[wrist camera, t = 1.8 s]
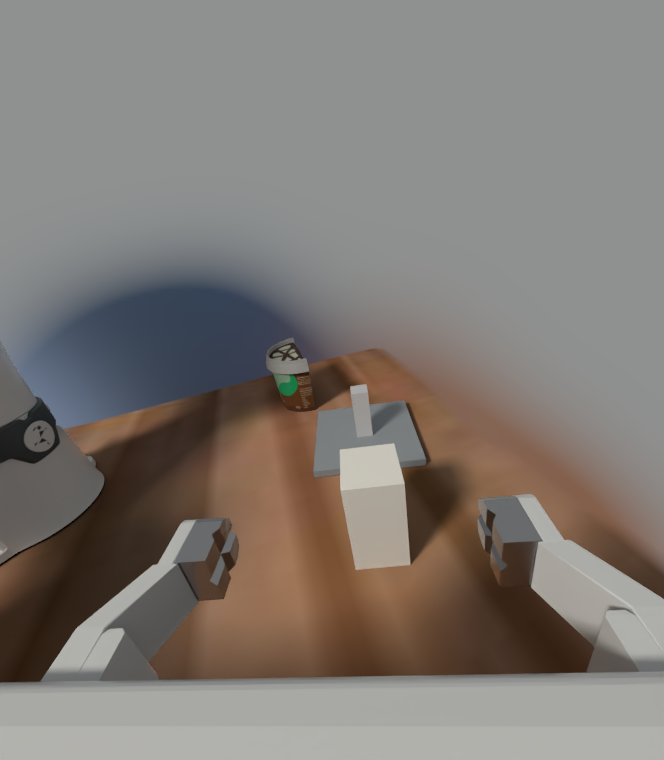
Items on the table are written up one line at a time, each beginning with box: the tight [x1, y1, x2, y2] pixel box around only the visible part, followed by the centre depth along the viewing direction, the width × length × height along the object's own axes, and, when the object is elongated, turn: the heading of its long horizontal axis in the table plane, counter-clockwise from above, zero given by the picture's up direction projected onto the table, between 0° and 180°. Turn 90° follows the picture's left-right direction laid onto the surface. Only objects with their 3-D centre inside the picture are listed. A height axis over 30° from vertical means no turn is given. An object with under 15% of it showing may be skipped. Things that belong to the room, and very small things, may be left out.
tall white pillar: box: [340, 443, 410, 570], centre depth 30 cm, size 5×5×10 cm
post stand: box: [314, 384, 426, 478], centre depth 46 cm, size 14×14×8 cm
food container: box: [266, 338, 316, 412], centre depth 58 cm, size 12×6×10 cm, turn 17°
